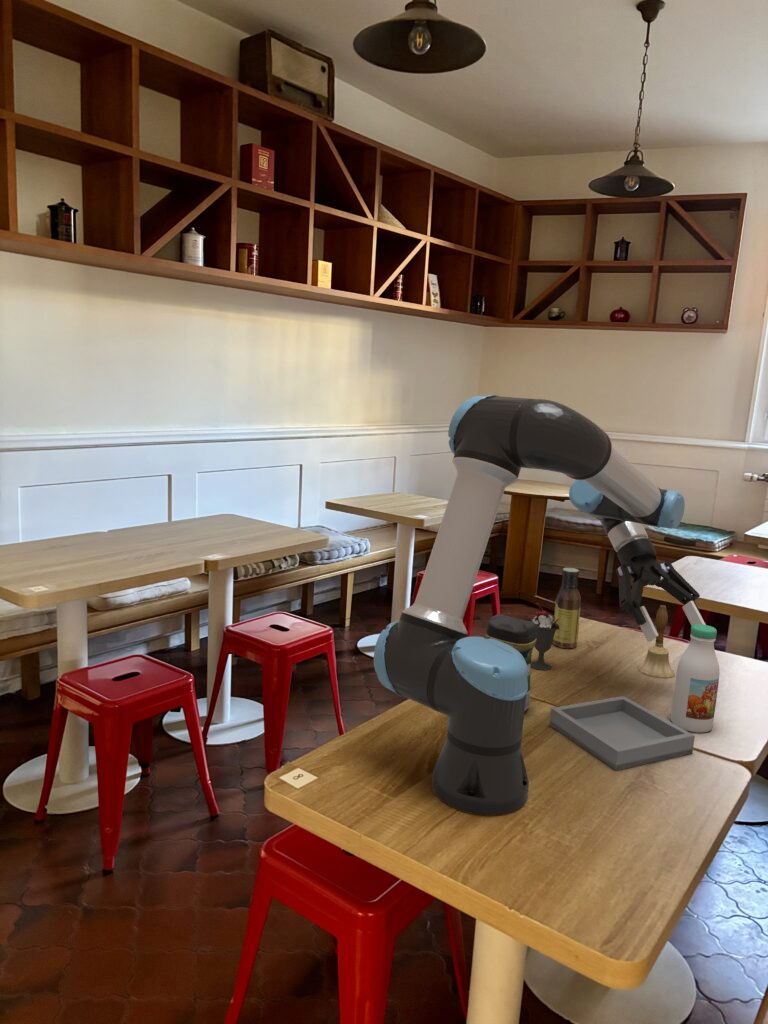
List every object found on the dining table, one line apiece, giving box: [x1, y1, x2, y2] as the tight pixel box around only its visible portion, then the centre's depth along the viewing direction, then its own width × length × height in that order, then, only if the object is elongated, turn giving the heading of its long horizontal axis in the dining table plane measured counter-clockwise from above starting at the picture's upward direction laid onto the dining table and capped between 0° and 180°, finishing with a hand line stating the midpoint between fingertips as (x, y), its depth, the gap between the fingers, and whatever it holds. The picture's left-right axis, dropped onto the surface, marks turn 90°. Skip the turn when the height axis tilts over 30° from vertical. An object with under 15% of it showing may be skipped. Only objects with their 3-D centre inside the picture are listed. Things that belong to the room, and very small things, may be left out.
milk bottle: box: [670, 624, 720, 734], centre depth 146 cm, size 8×8×20 cm
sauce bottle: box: [552, 567, 582, 650], centre depth 188 cm, size 6×6×20 cm
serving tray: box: [549, 695, 696, 772], centre depth 139 cm, size 18×18×4 cm
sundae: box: [530, 602, 560, 671], centre depth 173 cm, size 7×7×15 cm
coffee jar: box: [485, 613, 536, 712], centre depth 150 cm, size 10×8×19 cm
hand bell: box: [636, 604, 676, 679], centre depth 174 cm, size 8×8×16 cm
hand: (678, 635), depth 151 cm, fingers open, 13 cm apart
